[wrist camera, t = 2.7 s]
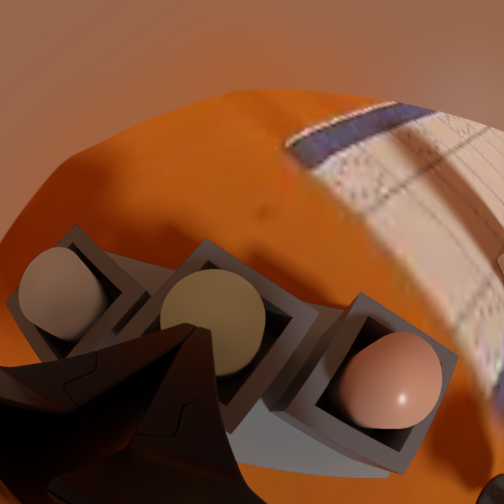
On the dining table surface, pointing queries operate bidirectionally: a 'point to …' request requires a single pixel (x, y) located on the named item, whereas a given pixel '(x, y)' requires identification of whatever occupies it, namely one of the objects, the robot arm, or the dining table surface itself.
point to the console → (260, 363)
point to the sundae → (493, 492)
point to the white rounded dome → (62, 295)
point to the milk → (501, 262)
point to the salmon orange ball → (387, 383)
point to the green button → (220, 317)
